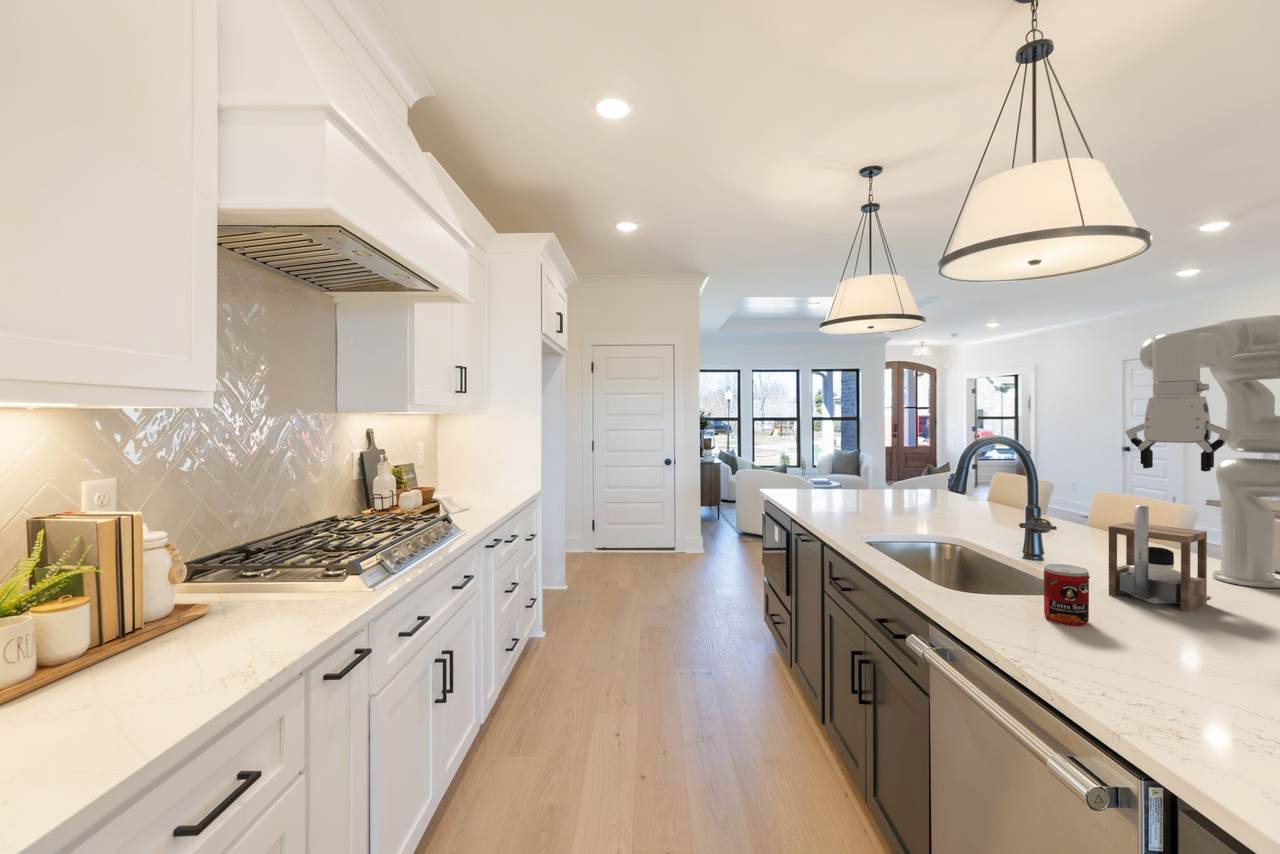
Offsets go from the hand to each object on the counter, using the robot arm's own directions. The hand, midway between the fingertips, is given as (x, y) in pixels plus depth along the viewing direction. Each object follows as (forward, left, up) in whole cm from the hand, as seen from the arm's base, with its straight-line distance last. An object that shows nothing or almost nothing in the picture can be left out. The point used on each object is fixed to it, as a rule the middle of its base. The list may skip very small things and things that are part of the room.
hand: (1175, 469), depth 125 cm
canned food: (+25, -10, -32) cm, 41 cm away
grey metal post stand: (-6, -6, -30) cm, 31 cm away
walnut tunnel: (-8, -6, -31) cm, 33 cm away
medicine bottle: (-8, -6, -32) cm, 33 cm away
